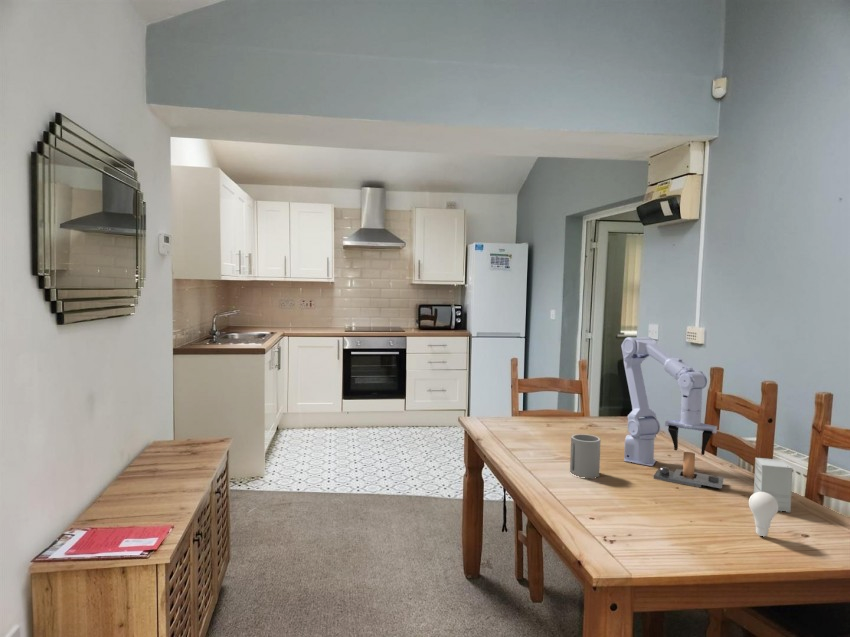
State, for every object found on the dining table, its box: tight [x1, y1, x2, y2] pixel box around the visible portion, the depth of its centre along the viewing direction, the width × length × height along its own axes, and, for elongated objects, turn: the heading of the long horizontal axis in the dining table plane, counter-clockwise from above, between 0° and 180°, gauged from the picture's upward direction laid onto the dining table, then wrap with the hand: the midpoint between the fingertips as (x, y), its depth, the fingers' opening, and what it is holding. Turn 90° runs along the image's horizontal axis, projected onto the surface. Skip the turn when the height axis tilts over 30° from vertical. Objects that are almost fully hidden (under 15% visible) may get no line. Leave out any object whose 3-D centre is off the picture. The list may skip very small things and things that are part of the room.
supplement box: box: [753, 457, 793, 513], centre depth 147 cm, size 7×7×13 cm
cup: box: [569, 433, 601, 479], centre depth 171 cm, size 9×9×12 cm
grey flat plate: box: [653, 466, 724, 489], centre depth 166 cm, size 19×8×3 cm, turn 57°
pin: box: [682, 451, 696, 478], centre depth 166 cm, size 3×3×9 cm
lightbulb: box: [748, 492, 779, 538], centre depth 128 cm, size 6×6×11 cm
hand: (689, 451), depth 166 cm, fingers open, 7 cm apart
